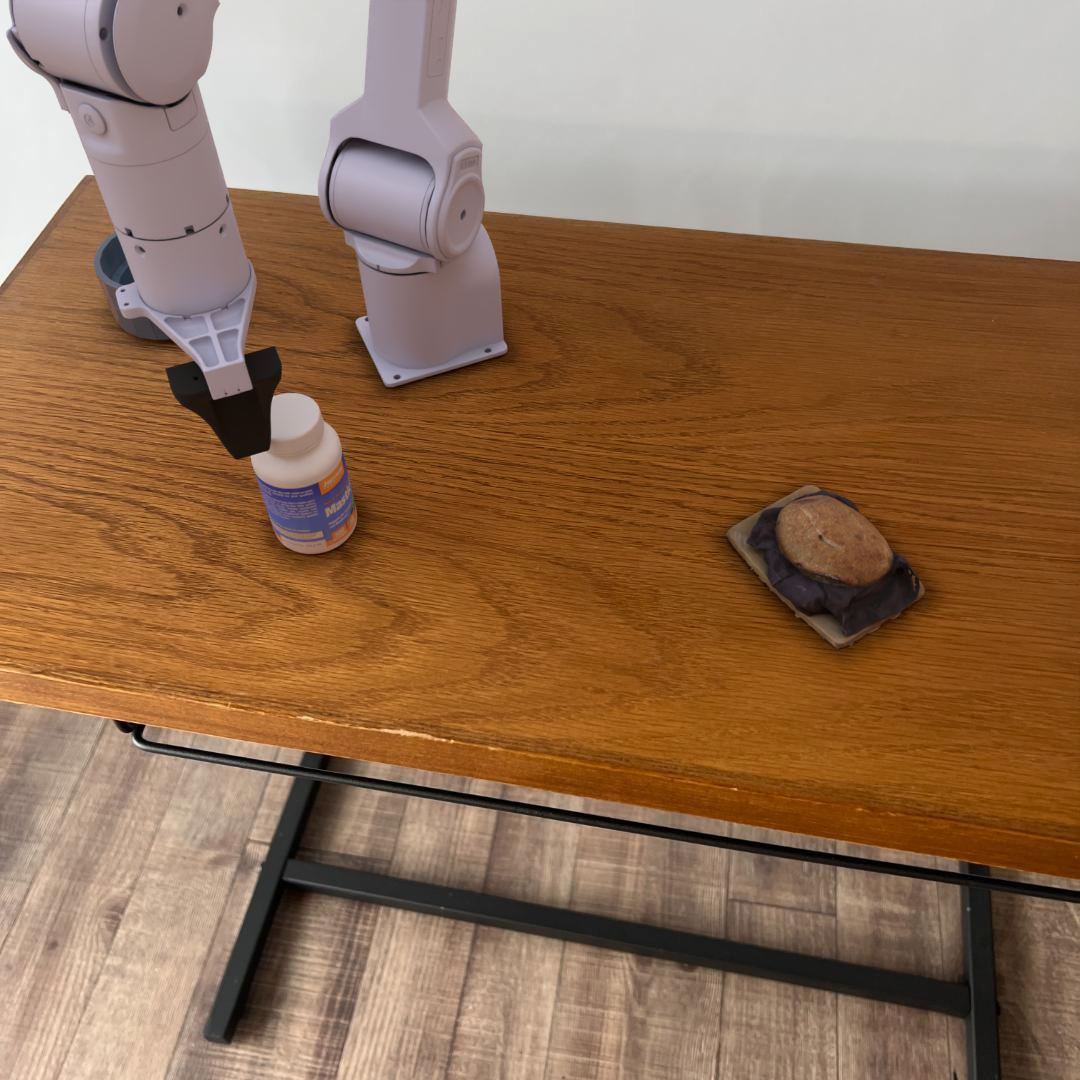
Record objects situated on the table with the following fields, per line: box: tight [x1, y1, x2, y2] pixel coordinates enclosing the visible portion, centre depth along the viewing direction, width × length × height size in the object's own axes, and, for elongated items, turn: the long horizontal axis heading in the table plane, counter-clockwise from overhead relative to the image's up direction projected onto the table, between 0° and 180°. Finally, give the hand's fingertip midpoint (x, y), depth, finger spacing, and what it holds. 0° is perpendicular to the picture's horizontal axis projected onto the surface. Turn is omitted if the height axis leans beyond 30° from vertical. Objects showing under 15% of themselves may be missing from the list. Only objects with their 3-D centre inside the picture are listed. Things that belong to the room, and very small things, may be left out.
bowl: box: [92, 230, 172, 341], centre depth 82 cm, size 9×9×5 cm
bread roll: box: [725, 484, 926, 650], centre depth 66 cm, size 11×8×4 cm
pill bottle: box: [250, 392, 358, 555], centre depth 66 cm, size 5×5×10 cm
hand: (236, 407), depth 63 cm, fingers open, 7 cm apart
